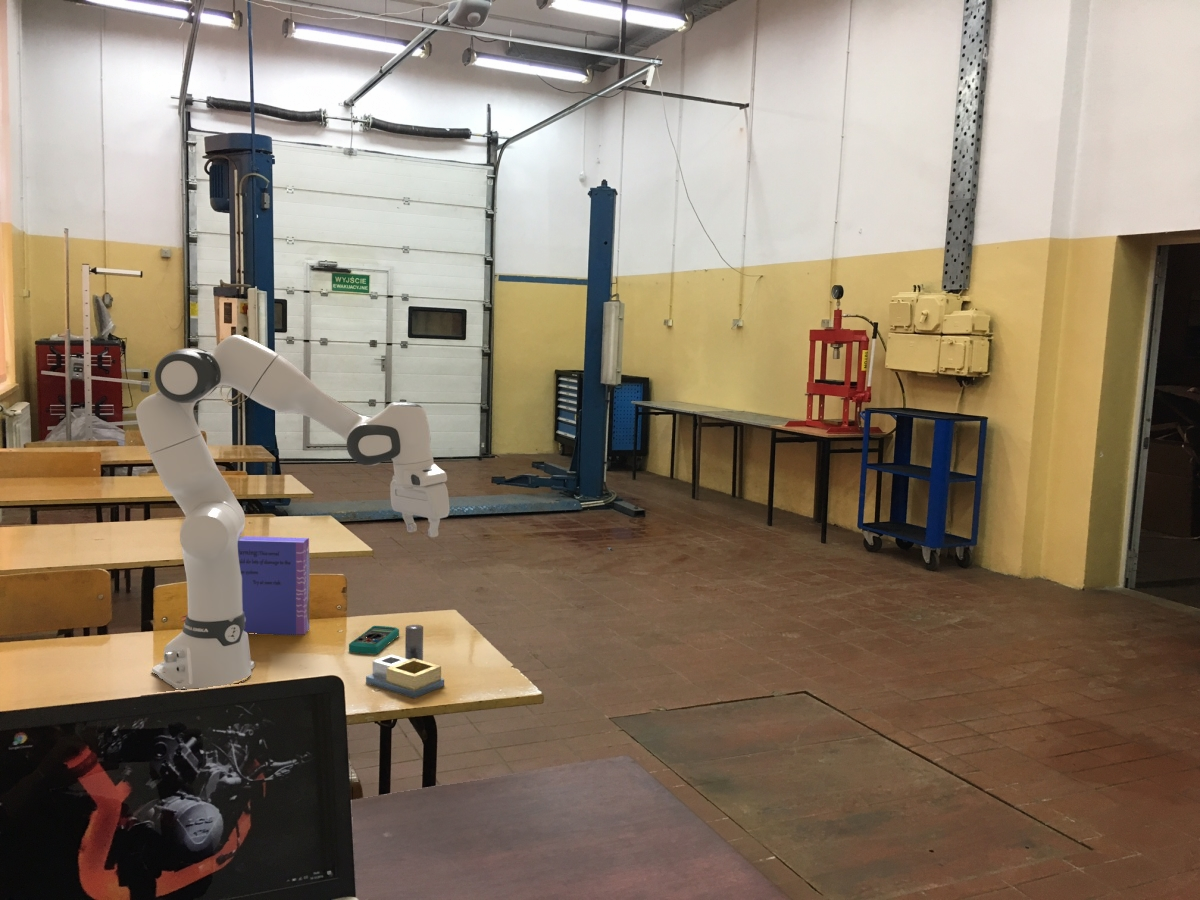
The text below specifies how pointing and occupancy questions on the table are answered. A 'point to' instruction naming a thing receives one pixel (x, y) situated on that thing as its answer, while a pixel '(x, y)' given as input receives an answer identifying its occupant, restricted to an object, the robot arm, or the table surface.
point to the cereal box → (275, 584)
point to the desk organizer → (405, 676)
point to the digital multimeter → (373, 640)
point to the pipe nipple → (414, 642)
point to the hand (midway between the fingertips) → (422, 534)
